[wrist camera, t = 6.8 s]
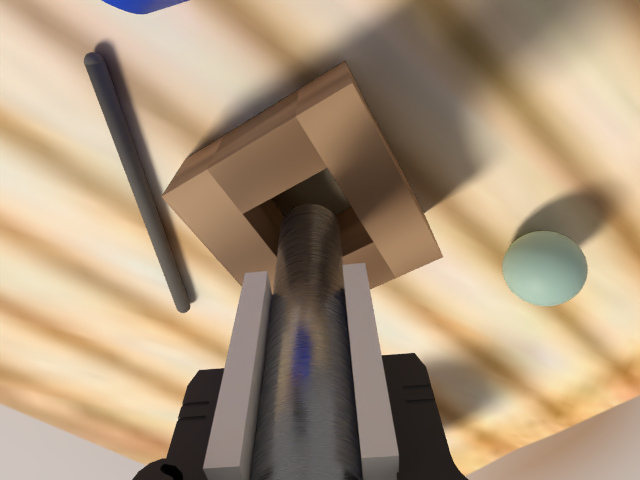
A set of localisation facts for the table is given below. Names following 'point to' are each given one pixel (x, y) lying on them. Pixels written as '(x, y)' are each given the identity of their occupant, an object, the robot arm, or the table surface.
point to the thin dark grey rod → (135, 174)
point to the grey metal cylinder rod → (308, 359)
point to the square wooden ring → (296, 166)
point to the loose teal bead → (544, 268)
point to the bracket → (142, 5)
